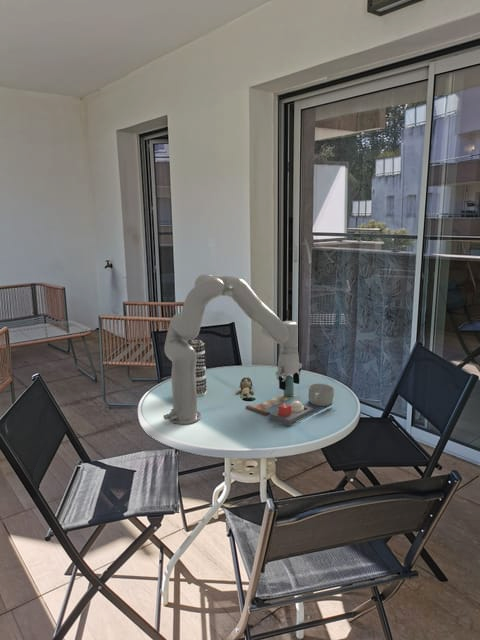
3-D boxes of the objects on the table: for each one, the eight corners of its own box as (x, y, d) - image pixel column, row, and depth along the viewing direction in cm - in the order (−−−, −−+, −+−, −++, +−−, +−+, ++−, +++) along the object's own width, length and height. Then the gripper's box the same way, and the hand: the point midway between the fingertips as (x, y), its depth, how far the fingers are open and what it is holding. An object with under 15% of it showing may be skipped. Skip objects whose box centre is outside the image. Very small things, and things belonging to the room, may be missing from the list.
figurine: (235, 392, 210) (238, 375, 224) (236, 404, 213) (238, 387, 227) (253, 392, 210) (254, 375, 224) (253, 405, 212) (255, 387, 226)
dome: (297, 417, 191) (297, 405, 190) (286, 413, 195) (286, 401, 194) (306, 413, 195) (306, 400, 194) (295, 409, 200) (295, 397, 198)
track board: (267, 415, 195) (267, 413, 194) (245, 408, 203) (245, 405, 203) (304, 398, 212) (304, 396, 212) (283, 392, 220) (283, 390, 220)
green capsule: (288, 397, 211) (288, 378, 208) (281, 395, 214) (281, 375, 212) (295, 395, 213) (295, 375, 211) (288, 392, 217) (288, 373, 215)
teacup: (315, 398, 213) (315, 381, 211) (338, 403, 206) (338, 385, 205) (300, 408, 201) (300, 390, 200) (323, 414, 195) (324, 395, 194)
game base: (289, 426, 184) (289, 411, 183) (269, 419, 191) (269, 404, 190) (313, 414, 196) (313, 399, 194) (294, 407, 202) (294, 393, 201)
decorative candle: (203, 397, 216) (201, 344, 211) (184, 395, 219) (182, 342, 213) (210, 390, 224) (209, 339, 219) (192, 388, 227) (190, 337, 222)
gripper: (294, 343, 218) (294, 379, 221) (269, 352, 206) (270, 389, 209) (307, 346, 213) (307, 382, 216) (283, 355, 201) (283, 393, 204)
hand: (289, 386), depth 213 cm, fingers open, 9 cm apart
